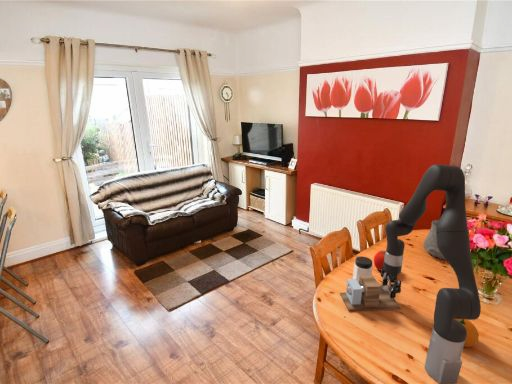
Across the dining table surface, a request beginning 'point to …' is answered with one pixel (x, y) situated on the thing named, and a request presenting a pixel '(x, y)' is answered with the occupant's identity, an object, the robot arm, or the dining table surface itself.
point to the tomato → (379, 259)
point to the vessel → (433, 242)
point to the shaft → (383, 289)
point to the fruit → (469, 333)
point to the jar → (362, 267)
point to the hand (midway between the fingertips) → (388, 292)
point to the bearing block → (371, 297)
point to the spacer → (354, 291)
